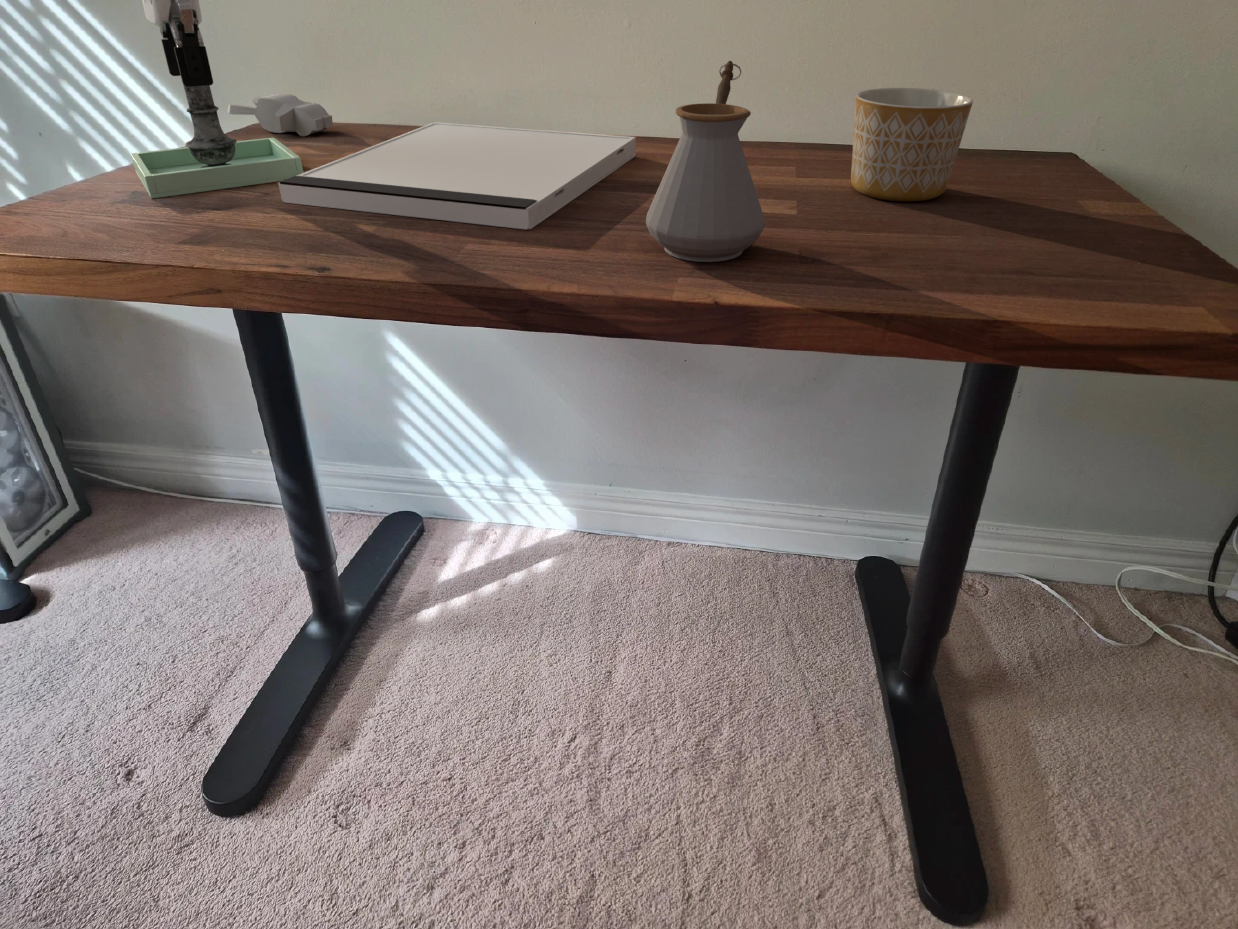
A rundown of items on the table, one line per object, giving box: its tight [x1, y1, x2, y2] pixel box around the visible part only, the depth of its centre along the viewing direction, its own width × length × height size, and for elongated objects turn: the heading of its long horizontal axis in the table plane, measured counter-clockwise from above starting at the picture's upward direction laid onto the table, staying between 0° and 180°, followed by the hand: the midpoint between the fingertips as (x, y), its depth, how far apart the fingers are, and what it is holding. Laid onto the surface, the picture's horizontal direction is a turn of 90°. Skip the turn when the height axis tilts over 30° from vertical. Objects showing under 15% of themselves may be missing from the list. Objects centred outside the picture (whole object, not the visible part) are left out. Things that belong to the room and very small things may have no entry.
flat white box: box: [277, 121, 637, 231], centre depth 104 cm, size 35×2×31 cm
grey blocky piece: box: [227, 92, 334, 137], centre depth 127 cm, size 10×5×15 cm
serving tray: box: [130, 137, 305, 199], centre depth 105 cm, size 18×14×2 cm
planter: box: [850, 87, 974, 203], centre depth 97 cm, size 13×13×10 cm
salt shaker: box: [182, 83, 238, 168], centre depth 102 cm, size 6×6×12 cm
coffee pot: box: [645, 60, 766, 263], centre depth 82 cm, size 21×12×15 cm, turn 167°
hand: (191, 79), depth 99 cm, fingers open, 9 cm apart
